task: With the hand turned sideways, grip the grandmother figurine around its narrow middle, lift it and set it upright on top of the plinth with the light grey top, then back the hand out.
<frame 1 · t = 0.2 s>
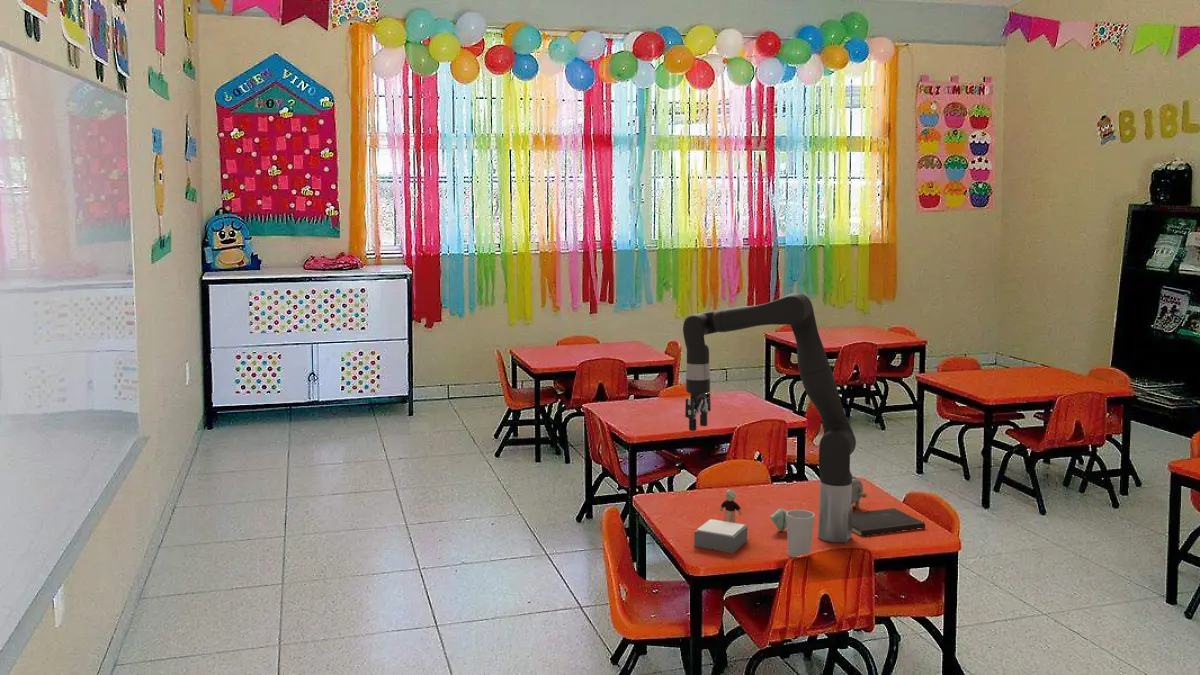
hand: (698, 428, 329), 29 cm above the table, tool pointing down, fingers open, 8 cm apart
plinth: (720, 543, 308), on the table
cup: (798, 555, 299), on the table
robot head: (781, 531, 320), on the table
grandmother figurine: (729, 530, 320), on the table
hardcover book: (878, 526, 326), on the table
toy sheep: (844, 507, 344), on the table
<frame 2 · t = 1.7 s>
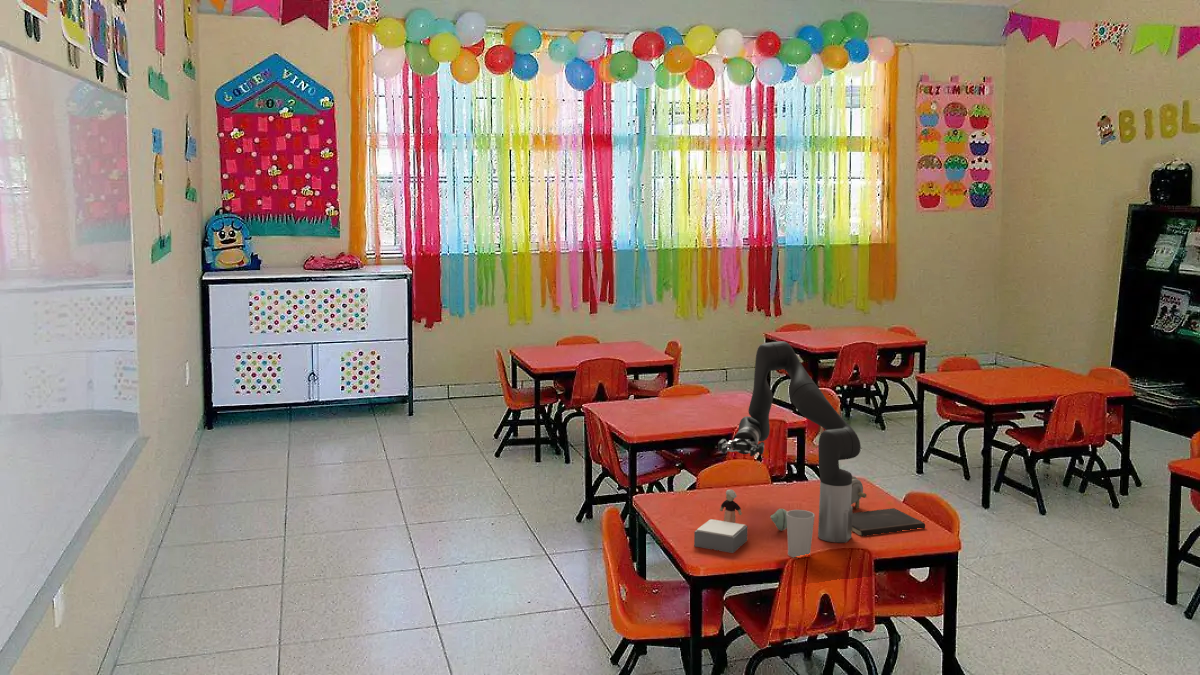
hand: (737, 452, 328), 22 cm above the table, tool horizontal, fingers open, 8 cm apart
nothing on the table moved.
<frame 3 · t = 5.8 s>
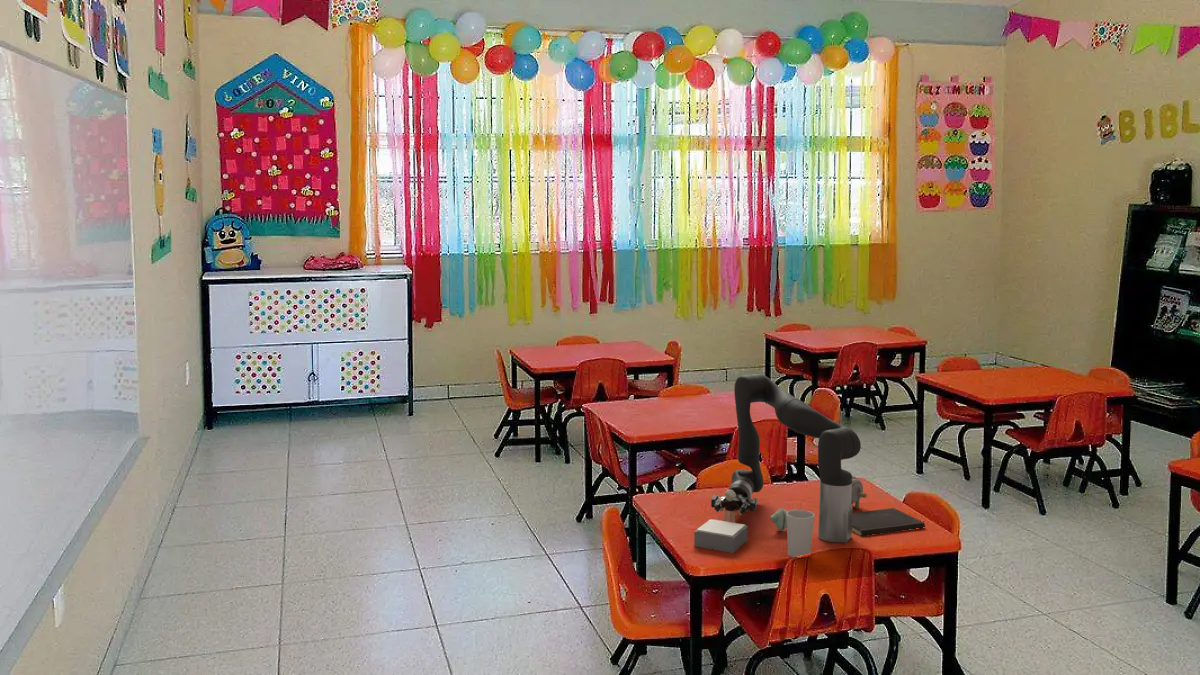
hand: (729, 509, 317), 7 cm above the table, tool horizontal, fingers closed on grandmother figurine, 7 cm apart
grandmother figurine: (729, 530, 320), on the table, touching gripper
everything else where it was.
when the fingers open (13 cm above the table, at t = 11.2 s): grandmother figurine stays where it is, resting on plinth.
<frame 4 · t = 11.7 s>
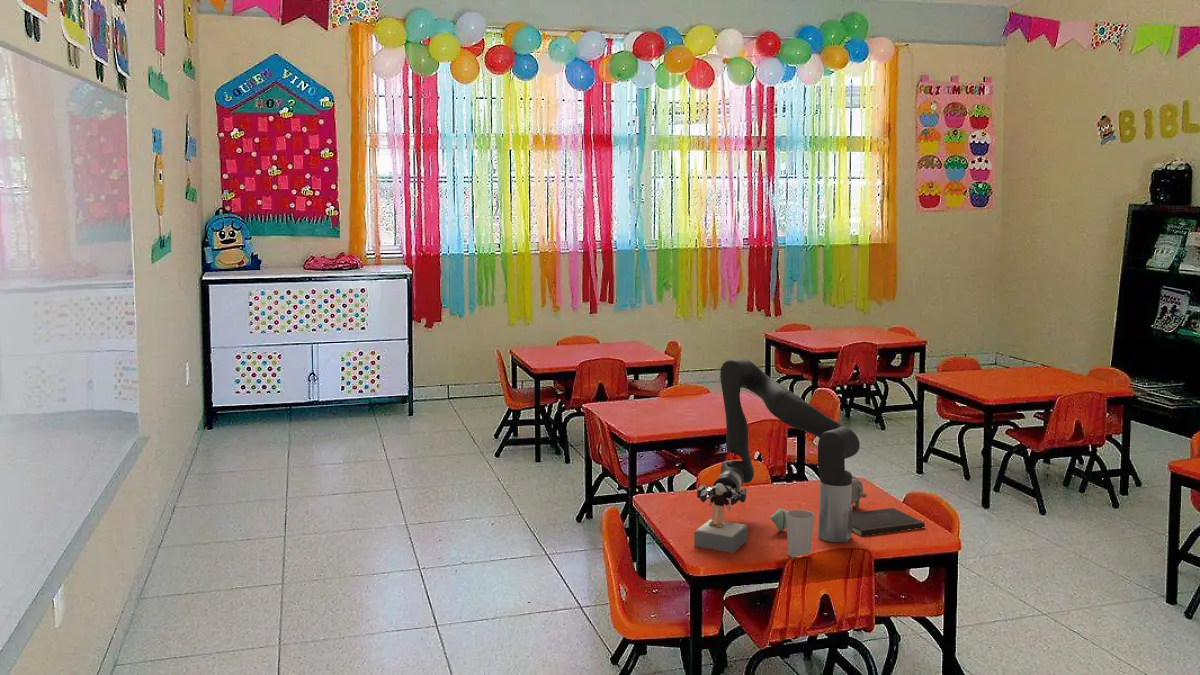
hand: (717, 500, 305), 14 cm above the table, tool horizontal, fingers open, 8 cm apart
grandmother figurine: (717, 526, 308), point 5 cm above the table, touching plinth
everything else where it was.
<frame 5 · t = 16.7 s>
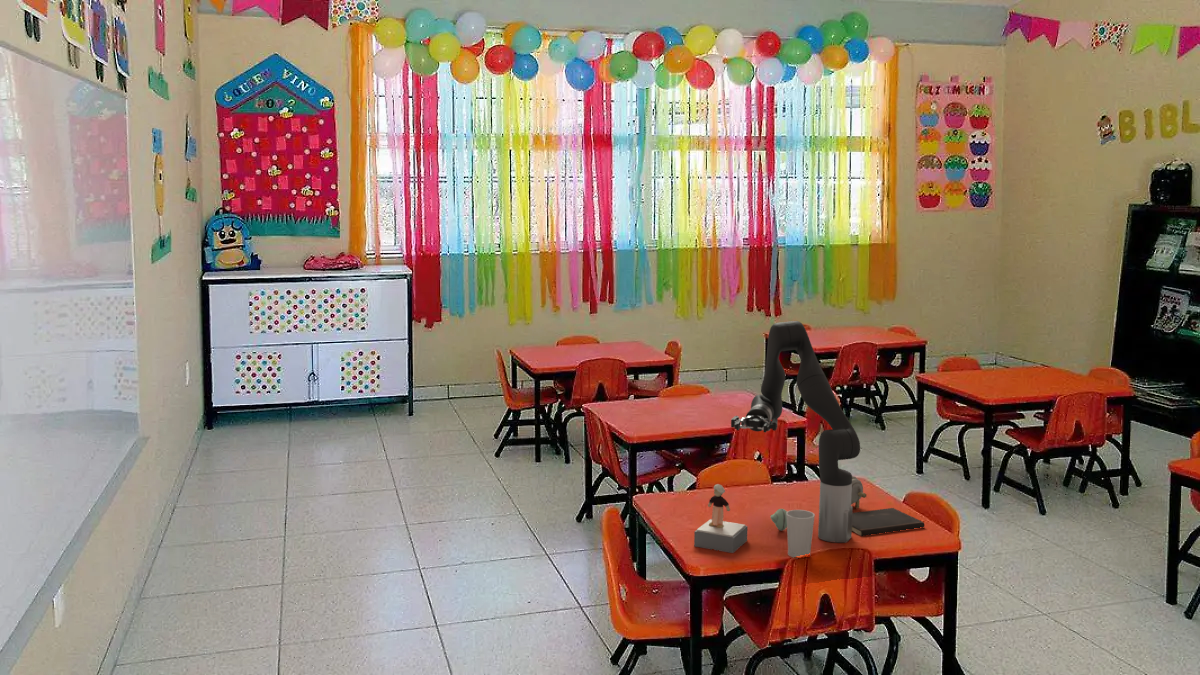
hand: (750, 428, 324), 30 cm above the table, tool horizontal, fingers open, 8 cm apart
at the end: grandmother figurine inside the target area on the plinth (1.1 cm from its centre), point 4.8 cm above the plinth's base; grandmother figurine tilted 0°; the gripper is holding nothing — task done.
